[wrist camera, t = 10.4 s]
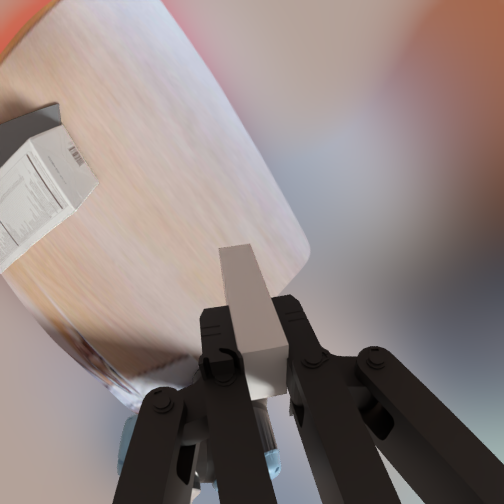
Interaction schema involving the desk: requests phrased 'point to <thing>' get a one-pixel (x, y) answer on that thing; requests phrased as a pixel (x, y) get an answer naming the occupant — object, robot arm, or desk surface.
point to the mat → (26, 129)
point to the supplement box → (40, 190)
